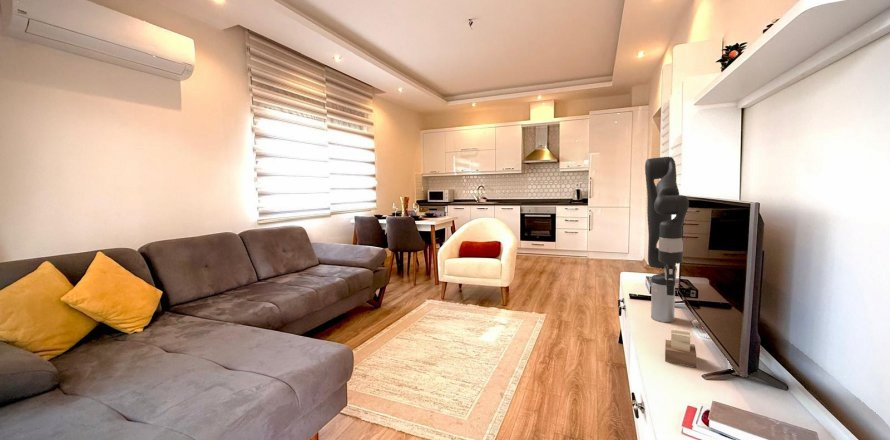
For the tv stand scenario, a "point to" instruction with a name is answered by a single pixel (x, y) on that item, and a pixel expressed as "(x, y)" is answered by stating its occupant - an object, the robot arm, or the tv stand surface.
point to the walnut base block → (680, 355)
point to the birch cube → (680, 339)
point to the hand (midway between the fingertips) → (670, 291)
